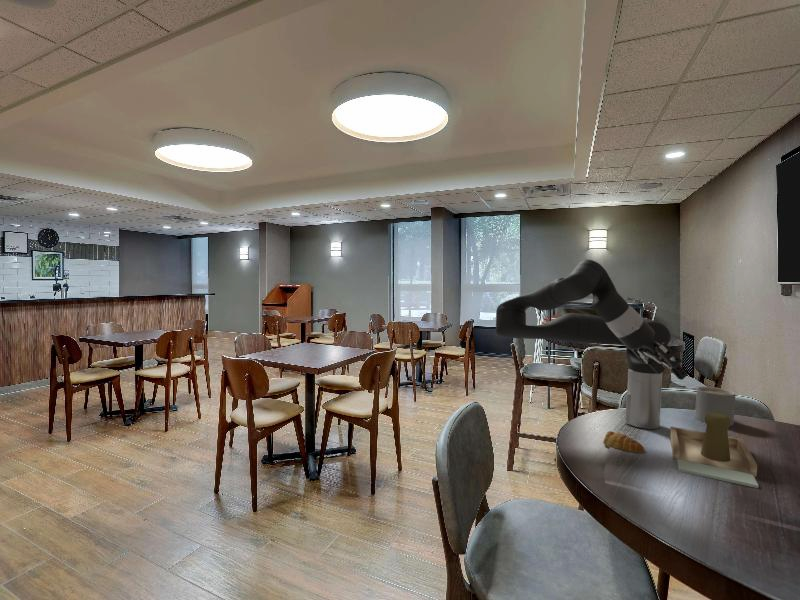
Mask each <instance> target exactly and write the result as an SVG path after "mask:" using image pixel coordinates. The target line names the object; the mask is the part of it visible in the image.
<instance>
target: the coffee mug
mask: <svg viewBox="0 0 800 600" xmlns="http://www.w3.org/2000/svg"><path fill="white" fill-rule="evenodd" d="M695 399H696V400H695V411H694V412H695V413H694V414H695V415H694V418H695V419H696V420H697V419H698V420H697V421H699V420H700V421H699V422H701V421H702V423H704V422H705V415H706V414H707V413H710V412H715V413H721V414H724V415H726V416H728V417H729V418H730V421H731V424H730V427H732V426H734V421H735V407H736V406H735V404H736V393H735V391H732V390H730V389H726V388H720V387H713V386H697V387H696V396H695Z"/></svg>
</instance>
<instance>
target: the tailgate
mask: <svg viewBox="0 0 800 600" xmlns="http://www.w3.org/2000/svg"><path fill="white" fill-rule="evenodd" d="M676 462H677V463H676V464H677V470H678V472H681V473H686V474H691V475H696V476H700V477H704V478H709V479H712V480H713V479H714V480H719V481H724V482H727V483H733V484H737V485H742V486H747V487H751V488H755V489H759V484H758V481H757V479H756V477H755V476H753V474H749V473H744V472H739V471H734V470H729V469H724V468H720V467H715V466H710V465H705V464H700V463H695V462H690V461H685V460H680V459H677V460H676Z"/></svg>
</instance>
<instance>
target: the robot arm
mask: <svg viewBox="0 0 800 600" xmlns="http://www.w3.org/2000/svg"><path fill="white" fill-rule="evenodd" d="M608 273H609V272H607V270H606V269H605V268H604V267H603V265H601V264H600V262H597V261H596V260H593V259H583V260H581V261H579V263H577V264H576V265H575V267H574V268H573V269H572V270H571V272H570V273H569V274H568V275H567V276H565V277H558V278H556V279H554V280H552V281H550V282H549V283H547V284H544V285H543V286H542V287H540V288H538V289H536V290H534V291H532V292H528V293H525V294H522V295H518V296H516V297H513V298H511V299H508V300H505V301H504V302H501V303H500V304H499V305H498V306H497V308H496V312H495V314H496V315H495V332H496V334H497V335H498V336H500V337H502V338H507V339H521V340H522V339H523V340H525V339H527V340H528V339H529V340H550V341H560V342H566V343H567V342H568V343H575V344H588V345H614V346H615V345H618V346H625V347H626V351H625V352H626V354H625V356H626V360H627V364H628V365H627V366H628V367H627V368H628V370H627V371H628V372H627V390H626V391H627V392H626V401H625V402H626V404H625V422H624V423H625V424H626V425H630V426H633V427H635V428H636V427H637V428H640V429H645V430H655V429H656V430H657V429H659V428H661V427H660V424H661V407H662V406H661V405H662V388H663V387H662V386H663V372H664V371H665V370H666V368H665V367H667V368H668V369H669V370H670V371H671V372H672V374H673V375H674V376H675V377H676V378H677V379H678V380H682V381H683V380H684V379H685V378H686V377H687V376H688V373H687V371H686V370H685V369H684V368H683V367H682V366H681V365H680V364H681V363H682V362H683V360H682V358H680V356H678V355H677V353H676V352H675V351H673V349H672V348H671V347H670V346H669V343H670V342H671V337H672V336H671V335H672V334H671V332H670V330H669V328H668V327H667V326H666V325H664V324H663V323H662V322H660V321H657V320H652V319H648V318H643V317H642V315H641V314H640V313H639V312H637V311H636V310H635V308H633V307H632V306H631V305H630V304H629V303H628V302H627V301H626V299H624V297H622V296H621V295H620V293H618V290H617V287H615V284H614V281H613V280H612V279H611V277H610V275H609V274H608ZM590 295H592V301H591V307H592V309H593V310H594V312H595V313H596V314H597V315H593V314H587V313H577V312H569V313H568V312H567V313H565V314H562V315H559V316H557V317H555V318H554V319H552V320H550V321H548V322H545V323H543V324H538V325H537V324H535V325H528V324H527V313H526V311H527V310H528V309H529V308H535V309H537V310H540V311H552V310H555V309H557V308H560V307H561V306H564V305H565V304H567V303H569V302H575V301H579V300H584V299H585V298H588V296H589V297H590ZM663 365H664V366H665V367H664V366H663Z"/></svg>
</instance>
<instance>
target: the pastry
mask: <svg viewBox="0 0 800 600" xmlns="http://www.w3.org/2000/svg"><path fill="white" fill-rule="evenodd" d="M603 444H604V446H605V447H606V448H608V449H611V448H614V449H617V450H621V451H626V452H631V453H636V454H641V453H644V451H645V447H644V446H643V444H642V443H640V442H638V441H637V440H635V439H633V438H631V437H628V435H626V434H621V433H620V432H616V433H615V432H614V431H611V430H609V431H607V432H606V434H605V436H604V438H603Z"/></svg>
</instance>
